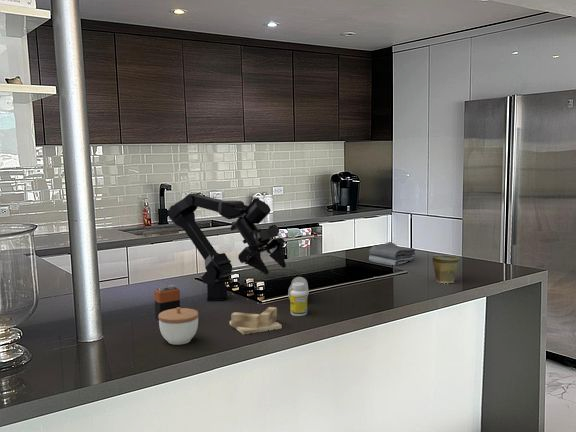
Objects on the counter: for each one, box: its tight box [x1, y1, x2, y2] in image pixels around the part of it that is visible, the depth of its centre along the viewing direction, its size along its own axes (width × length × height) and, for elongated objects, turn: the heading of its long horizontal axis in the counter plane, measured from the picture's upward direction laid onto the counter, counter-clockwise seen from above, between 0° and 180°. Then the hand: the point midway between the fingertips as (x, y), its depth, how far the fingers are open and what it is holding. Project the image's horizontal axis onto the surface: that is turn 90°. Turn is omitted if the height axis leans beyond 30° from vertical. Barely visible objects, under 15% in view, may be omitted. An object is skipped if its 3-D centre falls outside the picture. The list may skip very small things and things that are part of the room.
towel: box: [368, 241, 416, 267], centre depth 256 cm, size 15×18×8 cm
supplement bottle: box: [289, 282, 308, 317], centre depth 176 cm, size 5×5×10 cm
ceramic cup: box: [432, 254, 460, 285], centre depth 217 cm, size 13×10×10 cm
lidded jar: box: [158, 306, 199, 346], centre depth 152 cm, size 11×11×9 cm
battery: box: [154, 284, 181, 320], centre depth 173 cm, size 4×7×10 cm, turn 128°
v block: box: [229, 306, 283, 336], centre depth 164 cm, size 11×15×4 cm
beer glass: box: [287, 276, 310, 300], centre depth 194 cm, size 7×7×15 cm
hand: (276, 270), depth 179 cm, fingers open, 9 cm apart
